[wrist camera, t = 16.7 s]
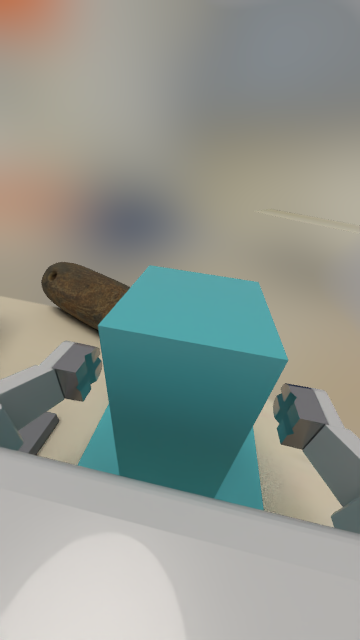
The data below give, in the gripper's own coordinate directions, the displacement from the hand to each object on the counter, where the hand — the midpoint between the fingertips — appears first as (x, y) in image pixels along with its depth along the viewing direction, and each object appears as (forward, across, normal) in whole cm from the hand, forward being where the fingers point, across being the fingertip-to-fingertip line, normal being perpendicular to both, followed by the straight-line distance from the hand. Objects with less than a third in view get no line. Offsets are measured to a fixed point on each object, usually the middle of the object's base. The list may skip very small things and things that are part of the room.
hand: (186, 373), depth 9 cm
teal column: (0, 0, +9) cm, 9 cm away
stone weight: (+16, +14, +10) cm, 23 cm away
